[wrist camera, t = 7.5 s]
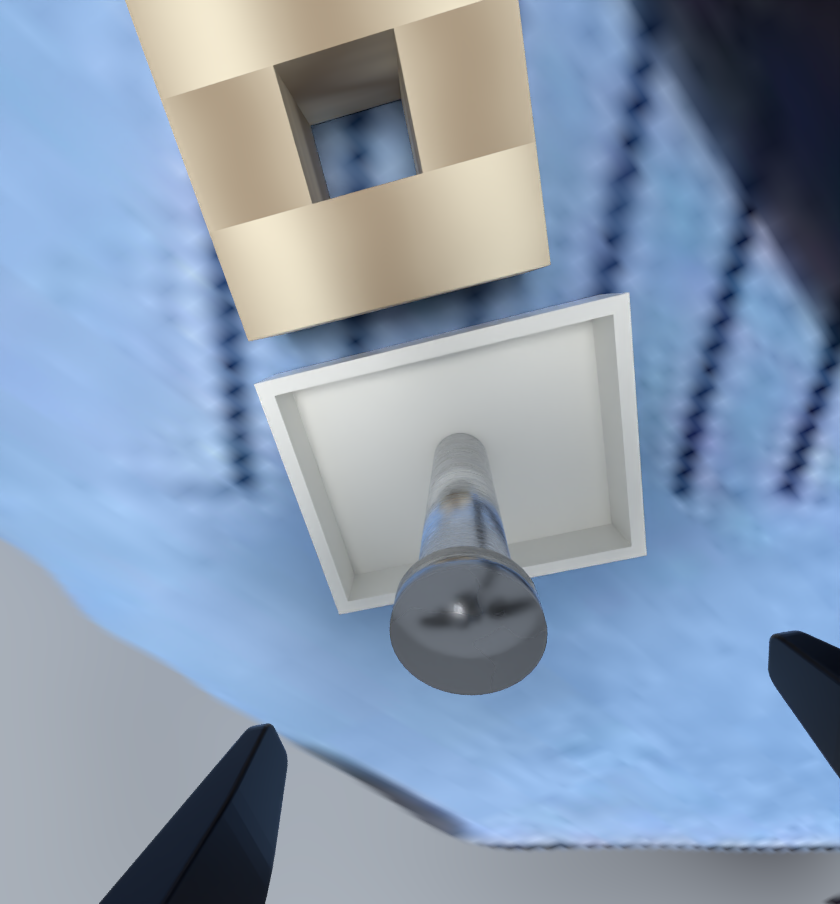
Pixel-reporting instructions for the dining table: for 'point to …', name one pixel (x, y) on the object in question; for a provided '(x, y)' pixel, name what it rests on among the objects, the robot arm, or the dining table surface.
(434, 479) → the pin
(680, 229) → the dining table surface
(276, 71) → the block
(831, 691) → the robot arm
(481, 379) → the tray
